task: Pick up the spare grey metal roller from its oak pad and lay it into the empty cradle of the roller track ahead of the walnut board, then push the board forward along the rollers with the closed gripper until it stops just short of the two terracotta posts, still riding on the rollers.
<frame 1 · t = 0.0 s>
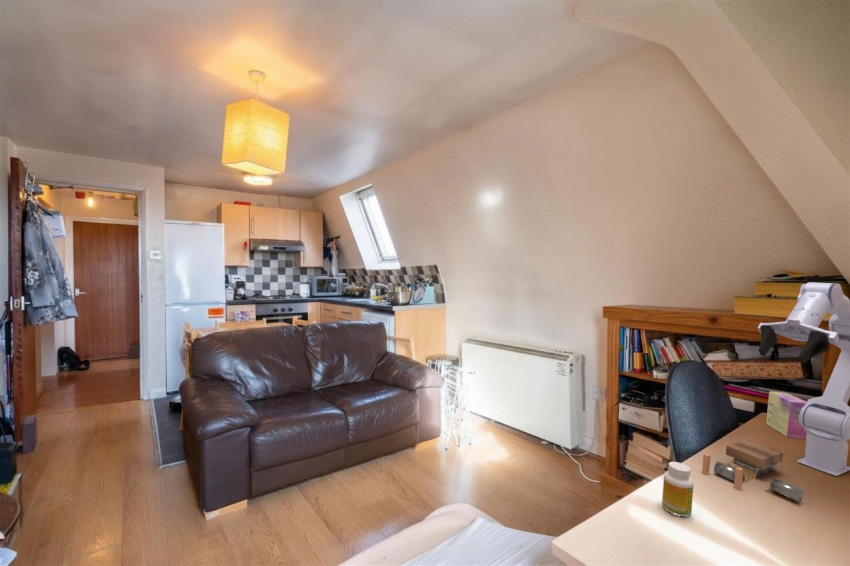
hand: (780, 356, 94), 32 cm above the table, tool tilted 50°, fingers open, 7 cm apart
supplement bottle: (676, 510, 85), on the table
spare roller: (785, 496, 92), resting on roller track
slab: (753, 458, 104), point 3 cm above the table, touching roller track
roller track: (745, 472, 103), on the table
stop posts: (721, 481, 98), on the table
box: (785, 432, 130), on the table
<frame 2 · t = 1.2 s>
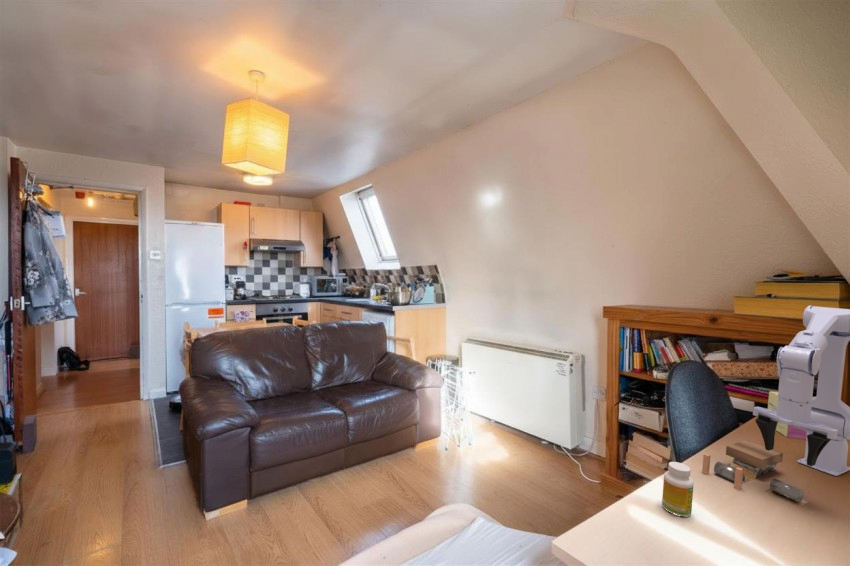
hand: (789, 456, 91), 10 cm above the table, tool pointing down, fingers open, 7 cm apart
nothing on the table moved.
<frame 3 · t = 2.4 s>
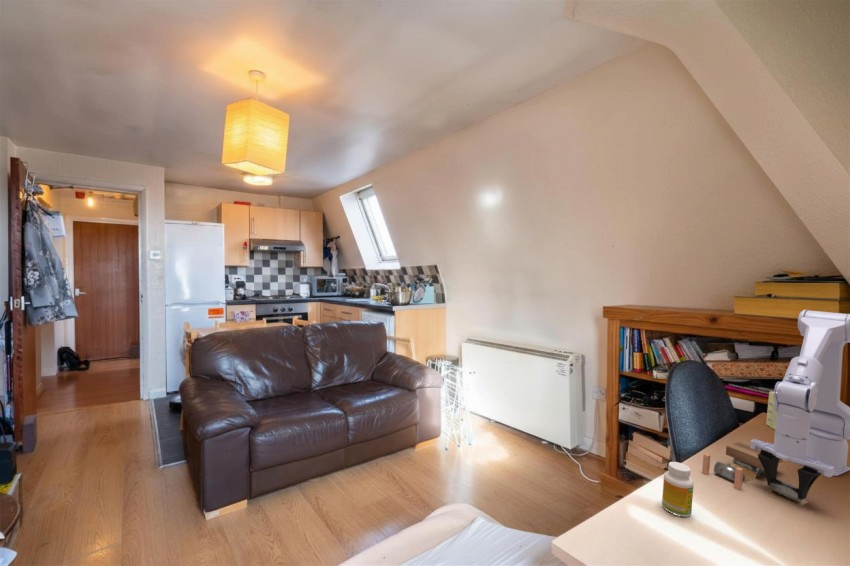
hand: (786, 491, 92), 1 cm above the table, tool pointing down, fingers closed on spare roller, 5 cm apart
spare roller: (785, 496, 92), resting on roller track, touching gripper
everything else where it was.
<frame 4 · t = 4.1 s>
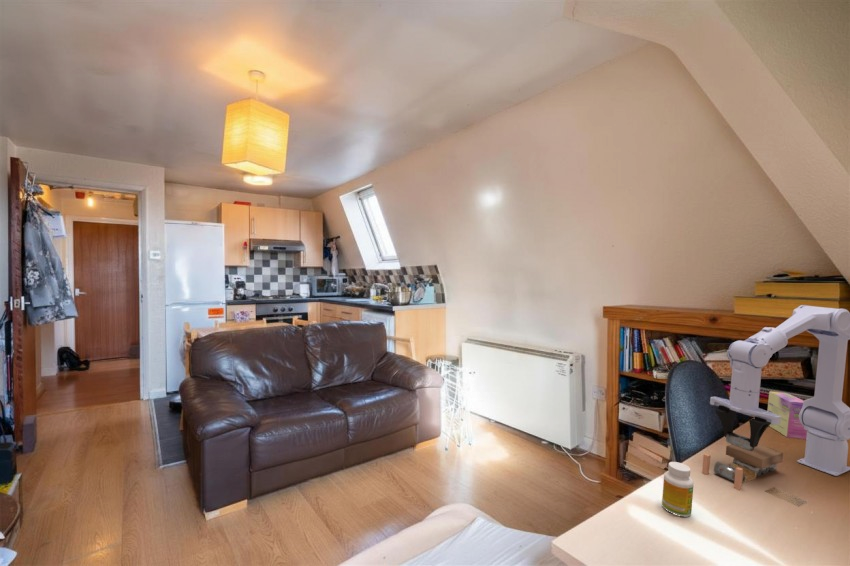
hand: (740, 441, 101), 9 cm above the table, tool pointing down, fingers closed on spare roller, 5 cm apart
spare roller: (740, 447, 101), point 7 cm above the table, touching gripper
everything else where it was.
when the fingers open (2 cm above the table, at t = 5.8 s): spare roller stays where it is, resting on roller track.
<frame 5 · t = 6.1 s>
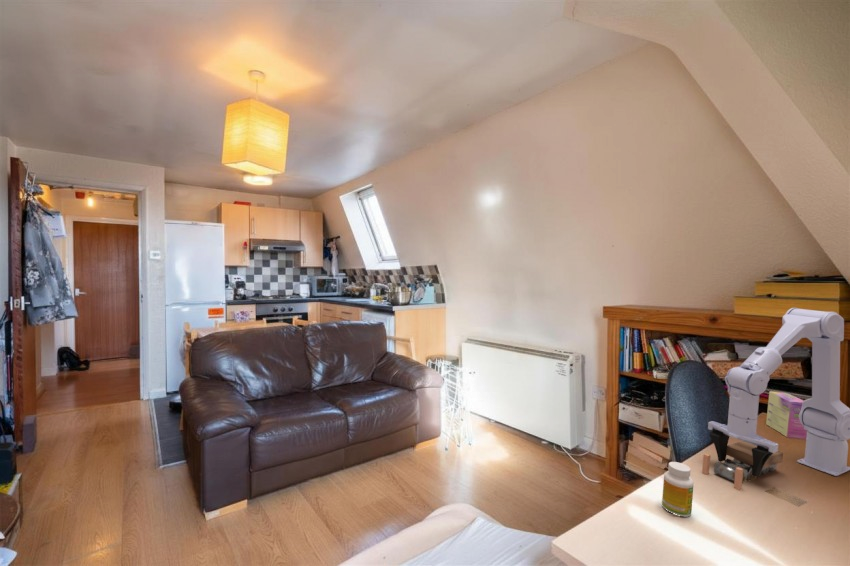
hand: (738, 467, 101), 2 cm above the table, tool pointing down, fingers open, 7 cm apart
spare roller: (737, 474, 101), resting on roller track
everything else where it was.
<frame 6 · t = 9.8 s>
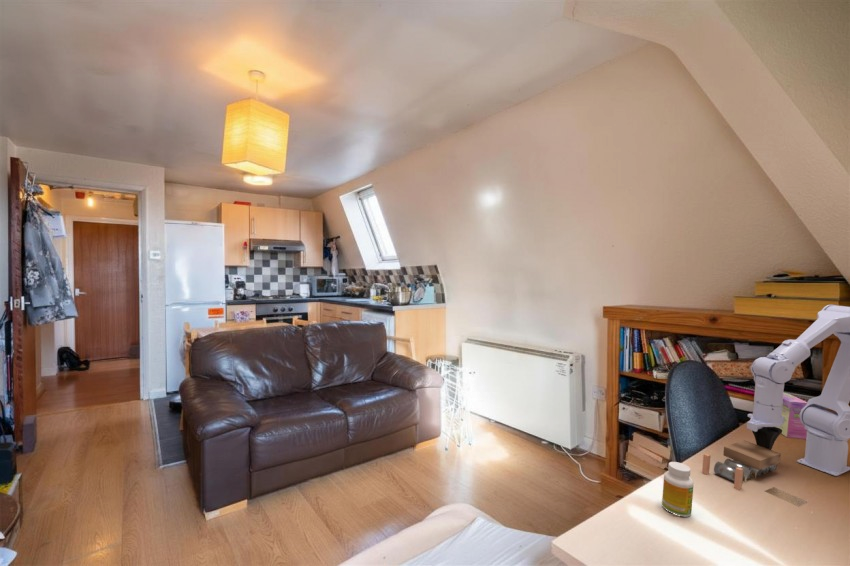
hand: (763, 452, 106), 4 cm above the table, tool pointing down, fingers closed
slab: (751, 458, 103), point 3 cm above the table, touching gripper, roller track
everything else where it was.
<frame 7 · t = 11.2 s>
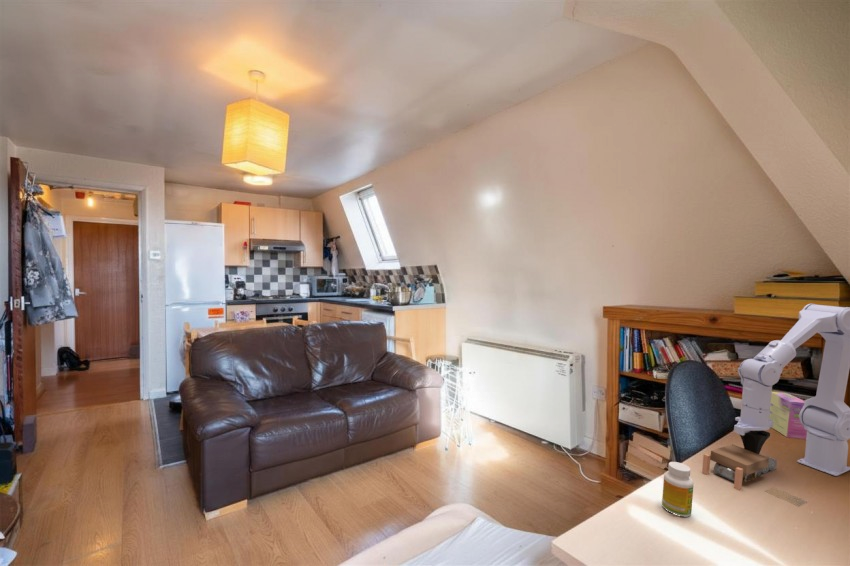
hand: (751, 457, 103), 4 cm above the table, tool pointing down, fingers closed
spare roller: (738, 473, 101), resting on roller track, tilted 20°
slab: (738, 463, 101), point 3 cm above the table, touching gripper, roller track
everything else where it was.
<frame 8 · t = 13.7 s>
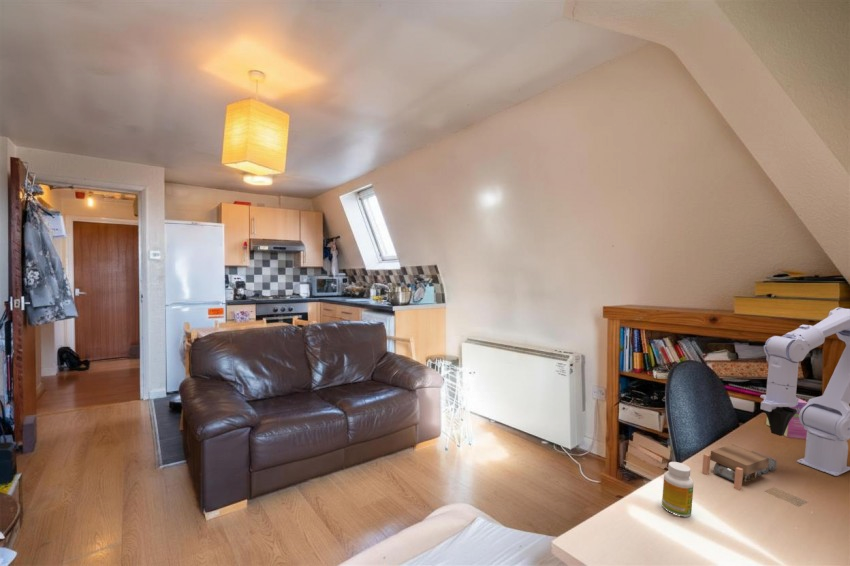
hand: (777, 434, 103), 10 cm above the table, tool pointing down, fingers closed
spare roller: (738, 474, 101), resting on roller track, tilted 13°
slab: (738, 463, 101), point 3 cm above the table, touching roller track
everything else where it was.
at the end: slab 0.3 cm from the target spot, point 3.2 cm above the table; slab tilted 0°; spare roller 0.2 cm from the target spot, resting on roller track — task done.
